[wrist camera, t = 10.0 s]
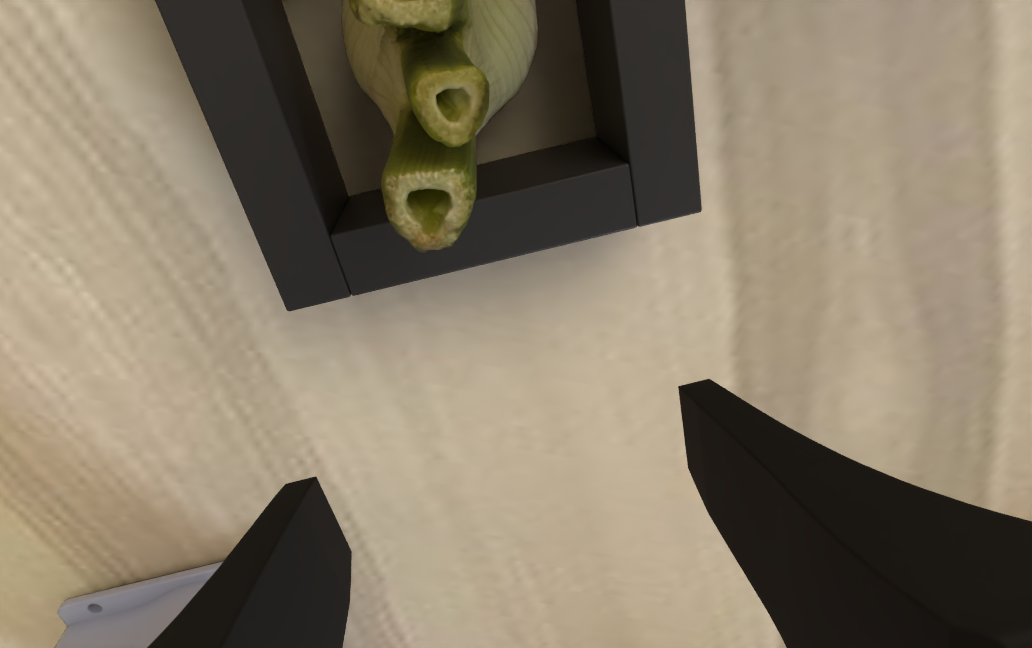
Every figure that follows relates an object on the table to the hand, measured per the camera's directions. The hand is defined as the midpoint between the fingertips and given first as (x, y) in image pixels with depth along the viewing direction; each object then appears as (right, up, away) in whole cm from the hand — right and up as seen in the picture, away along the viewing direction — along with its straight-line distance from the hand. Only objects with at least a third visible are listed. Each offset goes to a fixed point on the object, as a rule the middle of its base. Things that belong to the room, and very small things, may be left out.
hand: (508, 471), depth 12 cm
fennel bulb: (-2, +11, +6) cm, 13 cm away
